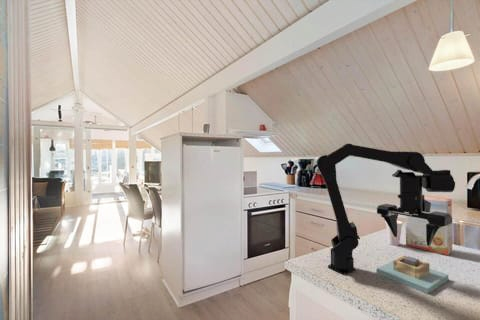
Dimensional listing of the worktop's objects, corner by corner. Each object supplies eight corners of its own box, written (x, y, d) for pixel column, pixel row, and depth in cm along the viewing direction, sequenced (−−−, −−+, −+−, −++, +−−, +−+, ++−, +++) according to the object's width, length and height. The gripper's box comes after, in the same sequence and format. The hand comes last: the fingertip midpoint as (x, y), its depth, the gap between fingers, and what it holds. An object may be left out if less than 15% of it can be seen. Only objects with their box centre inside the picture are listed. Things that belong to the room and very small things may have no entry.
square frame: (393, 269, 76) (393, 260, 76) (404, 264, 80) (404, 255, 80) (418, 279, 70) (418, 269, 70) (429, 273, 74) (429, 263, 74)
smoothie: (383, 244, 101) (383, 211, 101) (387, 240, 106) (386, 209, 106) (401, 248, 97) (401, 214, 97) (404, 243, 102) (403, 211, 102)
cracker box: (452, 252, 92) (452, 198, 92) (447, 256, 89) (447, 200, 88) (411, 242, 104) (410, 194, 103) (405, 245, 100) (404, 196, 100)
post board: (376, 272, 77) (376, 256, 77) (398, 262, 84) (398, 247, 84) (427, 293, 65) (427, 274, 65) (448, 279, 72) (448, 261, 72)
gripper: (459, 192, 70) (459, 244, 71) (392, 186, 87) (393, 228, 87) (443, 196, 65) (444, 253, 65) (375, 189, 81) (376, 234, 81)
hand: (411, 240), depth 75 cm, fingers open, 9 cm apart
